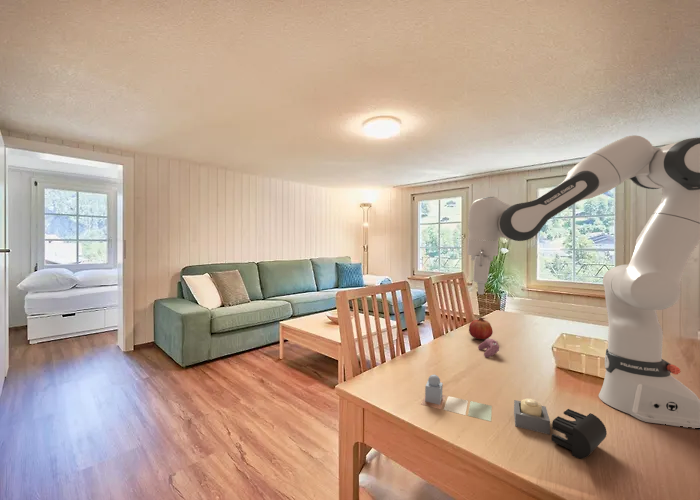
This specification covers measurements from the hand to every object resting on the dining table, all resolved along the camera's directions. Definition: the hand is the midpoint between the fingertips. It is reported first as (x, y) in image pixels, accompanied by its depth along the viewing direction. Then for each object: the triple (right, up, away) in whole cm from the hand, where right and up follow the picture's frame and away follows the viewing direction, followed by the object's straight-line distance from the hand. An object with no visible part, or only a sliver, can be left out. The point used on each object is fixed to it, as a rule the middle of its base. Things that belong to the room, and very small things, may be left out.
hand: (480, 293), depth 96 cm
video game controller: (+15, -29, +28) cm, 43 cm away
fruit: (+20, -28, +46) cm, 58 cm away
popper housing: (+4, -30, -20) cm, 36 cm away
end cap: (+9, -30, -29) cm, 43 cm away
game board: (-12, -29, -13) cm, 34 cm away
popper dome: (+4, -28, -20) cm, 35 cm away
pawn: (-18, -28, -10) cm, 35 cm away
